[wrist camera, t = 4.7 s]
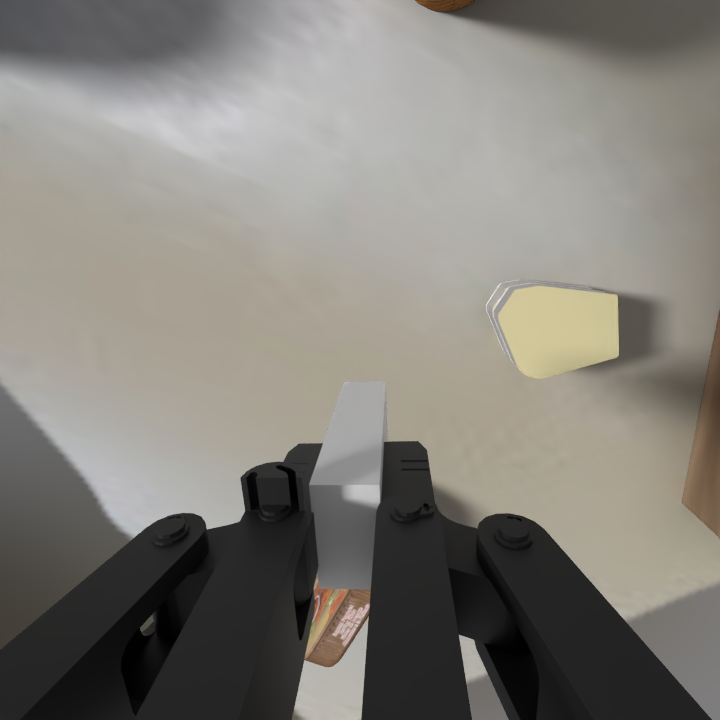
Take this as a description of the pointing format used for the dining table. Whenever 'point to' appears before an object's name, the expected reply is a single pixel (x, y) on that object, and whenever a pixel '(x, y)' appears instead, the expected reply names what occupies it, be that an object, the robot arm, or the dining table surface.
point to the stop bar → (707, 449)
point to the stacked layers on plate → (554, 326)
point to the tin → (335, 623)
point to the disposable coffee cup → (444, 4)
